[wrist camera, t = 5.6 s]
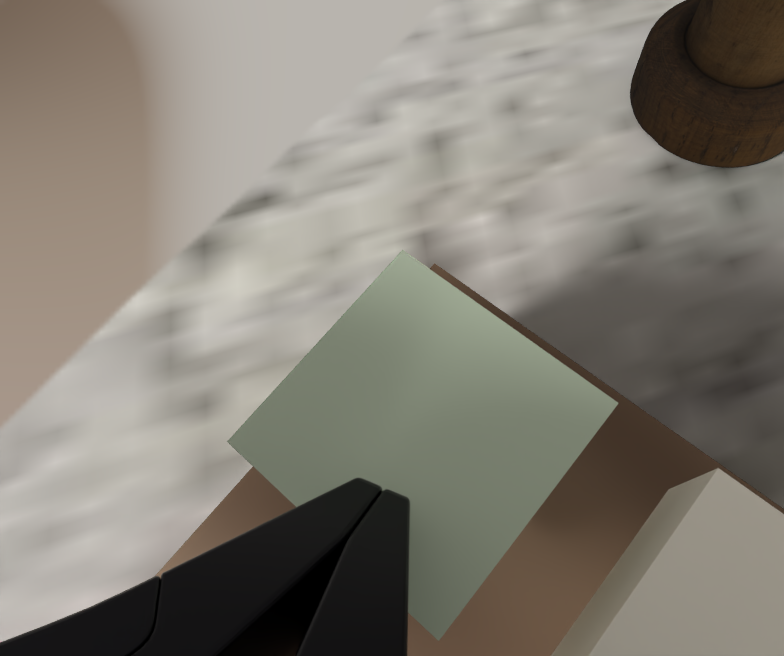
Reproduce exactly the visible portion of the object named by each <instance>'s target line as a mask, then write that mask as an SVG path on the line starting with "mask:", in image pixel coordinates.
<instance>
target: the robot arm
mask: <svg viewBox="0 0 784 656" xmlns="http://www.w3.org/2000/svg"><path fill="white" fill-rule="evenodd" d="M409 539H410V500H409V498H408V497H406V496H403V495H401V494H399V493H396V492H394V491H392V490H389V489H385V490H382V488H381V486H379V485H377V484H375V483H372V482H370V481H368V480H365V479H363V478H354V479H352V480H350V481H348V482H346V483H344V484H342V485H340V486H338V487H336V488H334V489H332V490H330V491H328V492H326V493H324V494H322V495H320V496H318V497H316V498H314V499H312V500H310V501H308V502H306V503H304V504H302V505H299V506H297V507H295V508H293V509H291V510H289V511H287V512H285V513H283V514H281V515H279V516H277V517H275V518H273V519H271V520H269V521H267V522H265V523H263V524H261V525H259V526H257V527H255V528H253V529H251V530H249V531H247V532H245V533H243V534H241V535H239V536H237V537H235V538H232V539H230V540H228V541H226V542H224V543H222V544H220V545H218V546H216V547H214V548H212V549H210V550H208V551H206V552H204V553H202V554H200V555H198V556H196V557H194V558H192V559H190V560H188V561H186V562H184V563H182V564H180V565H178V566H176V567H174V568H172V569H170V570H168V571H165V572H163V573H162V574H161V579H160V577H159V576H155V577H153V578H151V579H149V580H147V581H145V582H143V583H141V584H139V585H137V586H135V587H132V588H130V589H128V590H126V591H124V592H122V593H120V594H117V595H115V596H113V597H111V598H109V599H107V600H104V601H102V602H100V603H98V604H96V605H94V606H91V607H89V608H87V609H84V610H82V611H79V612H77V613H74V614H72V615H69V616H67V617H65V618H62V619H60V620H57V621H55V622H52V623H50V624H47V625H45V626H42V627H40V628H37V629H34V630H32V631H29V632H27V633H24V634H21V635H19V636H16V637H14V638H11V639H8V640H6V641H3V642H1V643H0V656H407V649H408V594H409Z"/></svg>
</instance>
